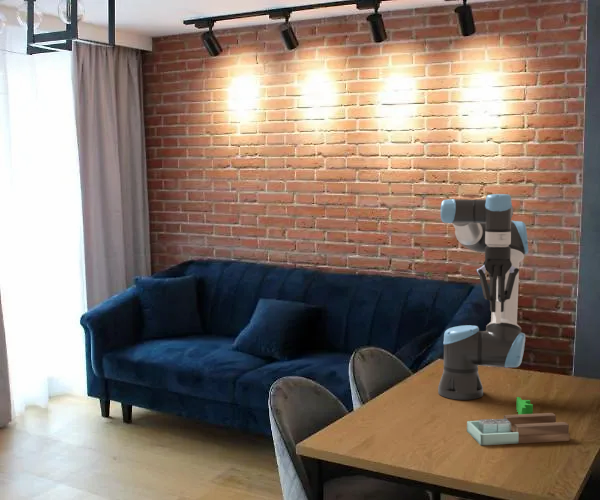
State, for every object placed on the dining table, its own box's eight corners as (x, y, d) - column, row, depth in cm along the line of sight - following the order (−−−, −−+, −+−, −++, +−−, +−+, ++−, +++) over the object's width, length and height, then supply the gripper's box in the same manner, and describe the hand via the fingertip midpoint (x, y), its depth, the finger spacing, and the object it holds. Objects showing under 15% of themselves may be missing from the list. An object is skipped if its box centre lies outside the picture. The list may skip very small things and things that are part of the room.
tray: (466, 431, 230) (466, 421, 230) (502, 429, 231) (502, 419, 231) (480, 445, 218) (480, 434, 218) (518, 443, 219) (518, 433, 219)
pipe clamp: (534, 422, 238) (534, 408, 237) (521, 422, 238) (522, 407, 238) (528, 410, 249) (528, 396, 248) (516, 410, 249) (516, 396, 249)
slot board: (502, 429, 231) (503, 414, 231) (551, 426, 233) (551, 412, 232) (518, 443, 219) (518, 427, 219) (569, 440, 221) (569, 425, 221)
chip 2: (492, 432, 227) (492, 419, 226) (506, 432, 227) (506, 418, 227) (497, 437, 223) (497, 423, 222) (511, 436, 223) (511, 423, 223)
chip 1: (478, 433, 227) (479, 419, 226) (492, 432, 227) (492, 419, 227) (483, 437, 223) (483, 424, 222) (497, 437, 223) (497, 423, 223)
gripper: (481, 247, 230) (480, 325, 233) (523, 246, 232) (522, 324, 234) (472, 244, 238) (471, 320, 240) (513, 243, 239) (512, 319, 241)
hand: (496, 322), depth 237 cm, fingers closed
